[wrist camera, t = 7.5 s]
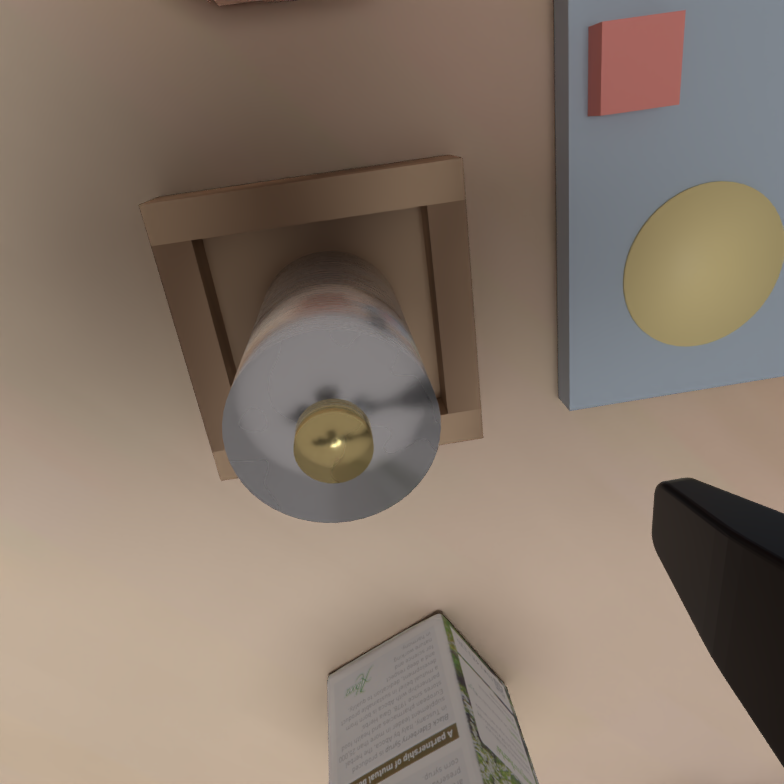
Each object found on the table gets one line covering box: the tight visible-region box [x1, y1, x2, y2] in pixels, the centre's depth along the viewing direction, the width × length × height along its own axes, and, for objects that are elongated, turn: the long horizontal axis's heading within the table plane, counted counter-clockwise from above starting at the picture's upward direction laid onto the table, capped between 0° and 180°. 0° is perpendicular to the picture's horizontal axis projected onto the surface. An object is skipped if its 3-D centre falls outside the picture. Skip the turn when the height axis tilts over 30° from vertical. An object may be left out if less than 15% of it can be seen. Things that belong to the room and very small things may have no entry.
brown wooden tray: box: [139, 155, 483, 481], centre depth 17 cm, size 8×8×2 cm
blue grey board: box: [554, 0, 784, 411], centre depth 15 cm, size 8×18×2 cm, turn 7°
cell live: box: [222, 251, 441, 523], centre depth 14 cm, size 4×4×8 cm
